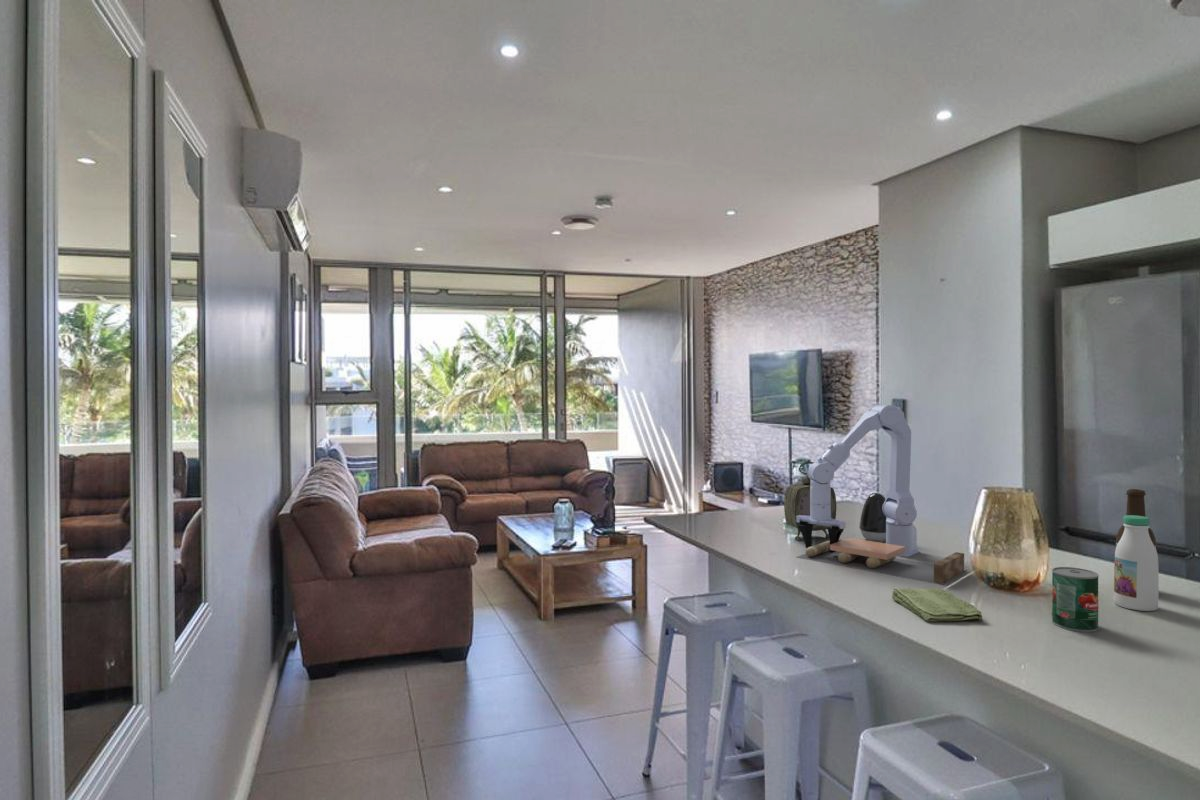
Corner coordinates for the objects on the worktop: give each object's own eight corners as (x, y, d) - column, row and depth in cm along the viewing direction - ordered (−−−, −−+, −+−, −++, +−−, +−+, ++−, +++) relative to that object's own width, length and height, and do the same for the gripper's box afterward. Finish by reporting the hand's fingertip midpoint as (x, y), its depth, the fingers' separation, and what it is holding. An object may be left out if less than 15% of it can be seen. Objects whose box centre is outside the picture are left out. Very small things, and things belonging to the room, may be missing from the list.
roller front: (885, 559, 194) (885, 548, 193) (896, 560, 191) (896, 550, 191) (864, 568, 184) (864, 557, 184) (875, 570, 182) (875, 559, 182)
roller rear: (857, 554, 199) (857, 544, 199) (868, 556, 197) (867, 545, 197) (836, 563, 190) (836, 552, 190) (846, 565, 188) (846, 554, 188)
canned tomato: (1100, 634, 135) (1100, 579, 135) (1052, 627, 139) (1052, 573, 139) (1096, 622, 142) (1097, 570, 142) (1051, 616, 146) (1051, 565, 146)
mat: (825, 547, 210) (825, 546, 210) (967, 571, 181) (967, 570, 181) (795, 558, 197) (795, 557, 197) (943, 586, 168) (943, 584, 168)
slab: (849, 542, 201) (849, 537, 201) (905, 551, 190) (905, 546, 190) (830, 550, 192) (830, 544, 192) (887, 559, 181) (887, 554, 181)
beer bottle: (1150, 587, 166) (1151, 488, 165) (1161, 596, 159) (1161, 493, 158) (1111, 583, 169) (1111, 486, 169) (1120, 592, 162) (1120, 491, 161)
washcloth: (926, 626, 143) (926, 610, 142) (888, 599, 160) (888, 585, 160) (988, 624, 143) (988, 609, 143) (943, 598, 161) (943, 584, 161)
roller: (826, 548, 206) (825, 539, 206) (834, 550, 204) (834, 541, 204) (803, 557, 197) (803, 547, 197) (812, 558, 195) (812, 548, 195)
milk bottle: (1149, 602, 154) (1149, 514, 154) (1164, 613, 147) (1165, 520, 147) (1108, 599, 157) (1109, 512, 156) (1122, 610, 149) (1122, 519, 149)
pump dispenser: (887, 536, 223) (887, 490, 223) (898, 544, 213) (898, 495, 213) (855, 536, 224) (855, 490, 224) (864, 543, 214) (864, 495, 214)
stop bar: (956, 570, 182) (956, 552, 182) (964, 572, 181) (964, 553, 181) (933, 583, 171) (933, 563, 171) (942, 585, 169) (942, 565, 169)
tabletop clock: (794, 542, 216) (794, 463, 216) (781, 536, 225) (781, 460, 225) (836, 540, 219) (836, 462, 219) (821, 534, 228) (821, 459, 228)
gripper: (791, 502, 203) (791, 548, 203) (837, 508, 193) (837, 556, 193) (803, 499, 208) (803, 544, 208) (848, 505, 198) (849, 551, 198)
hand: (820, 549), depth 201 cm, fingers open, 7 cm apart
